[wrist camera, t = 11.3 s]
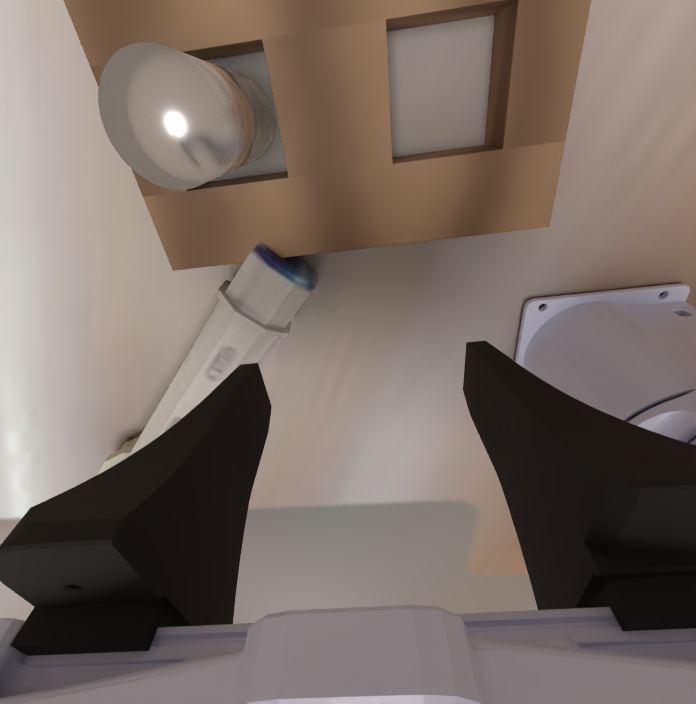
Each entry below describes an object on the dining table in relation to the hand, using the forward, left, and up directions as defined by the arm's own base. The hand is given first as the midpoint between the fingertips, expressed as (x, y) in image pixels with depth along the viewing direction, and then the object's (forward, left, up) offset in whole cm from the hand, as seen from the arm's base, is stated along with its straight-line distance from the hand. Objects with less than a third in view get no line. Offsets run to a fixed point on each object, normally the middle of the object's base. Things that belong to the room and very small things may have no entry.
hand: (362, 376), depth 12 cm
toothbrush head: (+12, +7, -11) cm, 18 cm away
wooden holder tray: (0, -8, -10) cm, 13 cm away
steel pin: (+5, -8, -10) cm, 14 cm away
